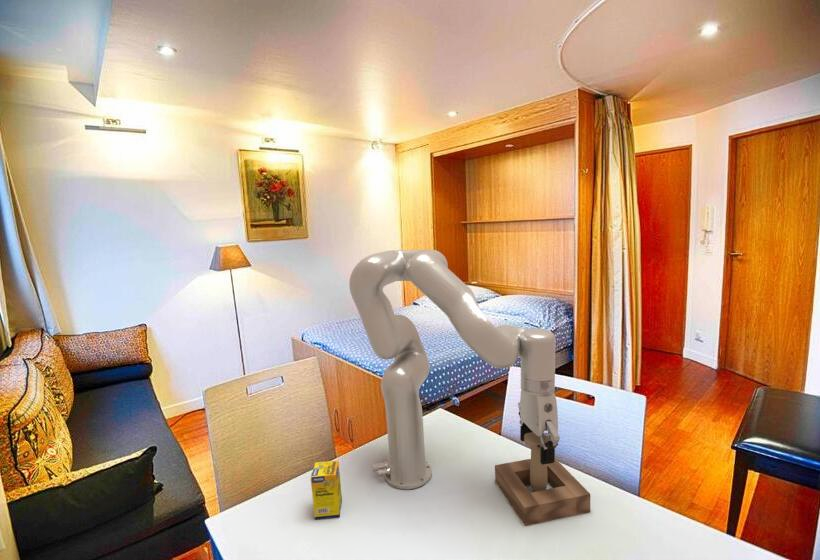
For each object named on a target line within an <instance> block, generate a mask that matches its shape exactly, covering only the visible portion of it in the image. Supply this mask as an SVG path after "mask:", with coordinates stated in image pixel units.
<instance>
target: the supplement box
mask: <svg viewBox="0 0 820 560" xmlns="http://www.w3.org/2000/svg"><path fill="white" fill-rule="evenodd" d="M313 465H314V466H313V469H312V472H311V474H310V483H311V494H312V504H313V514H314V520H316V521H317V520H325V519H334V518H336V519H338V518H340V517H341V508H342V503H343V494H342V485H341V474H340V473H341V472H340V462H339V460H330V461H329V460H328V461H319V462H318V461H316V462H314V464H313Z"/></svg>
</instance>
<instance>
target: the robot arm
mask: <svg viewBox="0 0 820 560" xmlns="http://www.w3.org/2000/svg"><path fill="white" fill-rule="evenodd" d="M448 267H449V264H448V261H447V258H446V257H445V255H444V254H442V252H440V251H439V250H437V249H397V250H396V249H393V250H386V251H380V252H376V253H373V254H369V255H367V256H365V257H364V258H362V259H361V260H360V261H359V262H358V263H356V265H355V266H354V268H353V269H352V271H351V273H350V276H349V285H348V286H349V292H350V295H351V298H352V300H353V303H354V305H355V307H356V309H357V311H358V314H359V317H360V319H361V323H362V326H363V328H364V330H365V333H366V336H367V338H368V341H369V344H370V346H371V349H372V351H373V353H374V354H375V355H376V356H377V358H379V359H381V360H387V361H388V360H391V359H394V361H392V363H391V364H390V365H388V367H387V368H386V369H385V370H384V372H383V374H382V377H381V381H380V388H381V393H382V396H383V401H384V407H385V415H386V418H385V419H386V428H387V441H388V456H387V457H386V459H387V460H383V462H378V463H372V464H371V465H372V472H373V473H374V472H377V473H378V476H383V475H384V478H385V479H384V480H385V481H386V483H388V484H389V485H390V486H391V487H393V488H396V489H399V490H412V489H417V488H421V487H422V486H424V485H426V483H428V482H429V481H430V479H431V478H432V467H431V465H430V463H428V461H426V450H425V434H424V433H425V432H424V418H423V416H424V415H423V408H422V407H423V406H422V403H421V399H420V388H421V386H422V385H423V384H424V382H425V380H426V379H427V378H428V376H429V373H430V362H429V358H428V355H427V353H426V350H425V348H424V345H423V342H422V340H421V338H420V337H421V336H420V335H419V331H418V330H417V327H416V325H415V324H414V323H413V321H412V320H411V319H410V318H409V317H407V316H405V315H402V314H395V311H394V309H393V306H392V304H391V301H390V300H389V298H388V296H387V295H386V294H385V292H384V287H385V286H388V285H390V284H393V283H395V282H411V283H412V284H413V286H415V287H416V288H417V289H418V290H419V291H420V292H421V293H422V294H423V295H425V296H426V298H428V299H429V300H430V301H431V302H433V304H434V305H435V306H436V307H437V308H439V310H440V311H442V312H443V313H444V314H445V315H446V317H447V318H448V320H449V322H450V323H451V325H452V326H453V327H454V329H455V330H456V332H457V333H458V335H459V336H460V338H461V339H462V341H464V343H465V344H466V345H467V346H468V347H469V348H470V349H471V350H472V351H473V352H474V353H475V354H476V355H477V356H479V358H481V359H482V360H483V361H484V362H485V363H487V364H488V365H489V366H491V367H493V368H496V369H500V370H501V369H502V370H503V369H504V370H505V369H508V368H510V367H512V366H513V365H514V364H515V363H516V361H517V360H518V357H519V358H520V400H519V402H517V407H518V416H519V418H520V419H519V426H520V433H519V434H520V436H519V437H520V438H519V440H520V441H521V442H524V435H525V434H526V433H531V432H534V433H535V434H536V435H537V436H539V437H540V440H541V443H542V447H541V457H540V462H541V464H542V465H544V464H550V463H554V461H555V458H556V457H555V456H556V455H555V454H556V448H557V446H559V442H560V438H561V437H560V435H559V417H558V416H559V415H558V413H559V412H558V403H557V398H556V397H557V396H556V393H555V388H556V343H557V342H556V335H555V334H554V333H553V332H552V331H550V330H548V329H545V328H544V329H543V328H529V329H528V328H523V327H518V326H514V325H508V324H502V325H501V324H500V325H498V326H496V325H494V324H493V323H492V322H491V321H490V320H489V319H488V318H487V316H485V314H484V313H483V312H482V310H481V308H480V306H479V304H478V302H477V299H476V295H475V294H474V292H473V290H472V289H471V288H470V287H469V286H468V285H467V284H466V283H465V282H463V281H462V280H461V279H460V278H459V276H457V275H456V274H455V273H454V272H453V271H452V270H451V269H449V268H448ZM545 432H546V433H545ZM542 433H545V434H542ZM544 437H549V439H550V441H548V442H547V443H546V441H545V438H544Z"/></svg>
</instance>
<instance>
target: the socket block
mask: <svg viewBox="0 0 820 560" xmlns="http://www.w3.org/2000/svg"><path fill="white" fill-rule="evenodd" d="M530 464H531V458H527V459H523V460H522V459H521V460H520V459H519V460H515V461H510V462H505V463H499V464H495V465H494V480H495V481H494V482H495V483H496V485H497V486H498V487H499V490H501V492H502V494H503V496H504V497H505V499H506V501H508V503H509V505H510V506H511V507H512V510H513V511H514V512H515V514H516V515H517V516H518V518H519V520H520V522H521V523H522V525H523V526H524V527H527V526H532V525H537V524H542V523H546V522H550V521H551V522H552V521H555V520H560V519H565V518H569V517H574V516H577V515H584V514H588V513H591V493H590V492H589V491H588V490H587V488H585V486H584V485H582V484H581V483H580V482H579V481H578V480H577V478H576V477H575V476H573V475H572V473H570V472H569V470H568V469H567V468H566V467H565V466H563V464H562V463H561V462H560V461H559V460H558V459H557V458H556V457H555V461H554V463H550V464H547V477H548V480H547V484H549V485H550V487H551V488H547V489H546V490H542V491H537V492H532V491H529V489H528V488H527V487H531V482H530Z"/></svg>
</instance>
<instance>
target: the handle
mask: <svg viewBox="0 0 820 560" xmlns="http://www.w3.org/2000/svg"><path fill="white" fill-rule="evenodd" d="M542 434H545V432H544V433H542ZM544 438H545V441H546V443H547V442H548V441H550V439H549V437H544ZM523 442H524V444H525V445H526V446H527V447H529V448H530V459H531V464H530V482H531V486H530V487H531V493H532V492H537V491H542V490H547V489H548V482H547V480H548V477H547V464H544V465H542V464H541V462H540V457H541V447H542V443H541V440H540V437H539V436H537V435H536V434H535V433H534V432H531V433H526V434H525V435H524V441H523Z"/></svg>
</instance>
